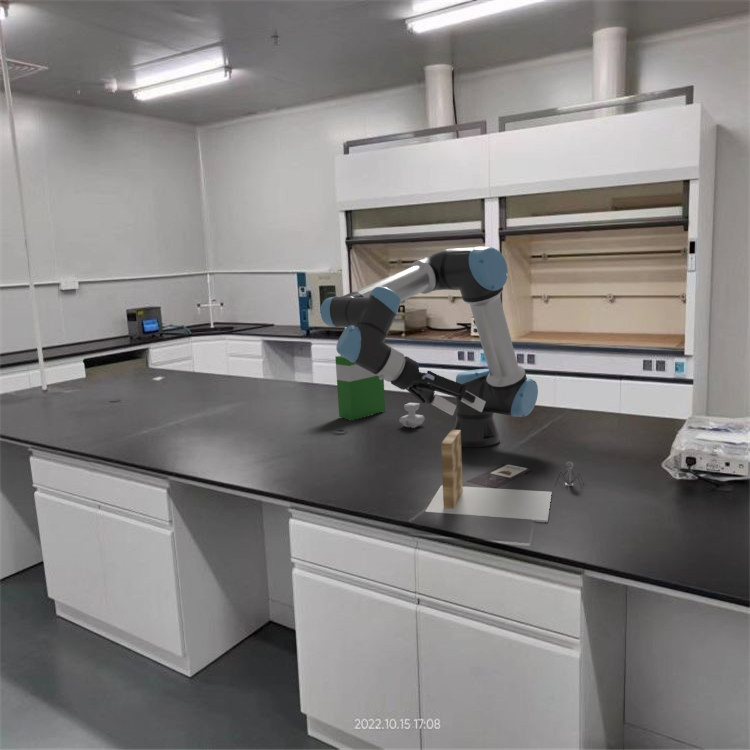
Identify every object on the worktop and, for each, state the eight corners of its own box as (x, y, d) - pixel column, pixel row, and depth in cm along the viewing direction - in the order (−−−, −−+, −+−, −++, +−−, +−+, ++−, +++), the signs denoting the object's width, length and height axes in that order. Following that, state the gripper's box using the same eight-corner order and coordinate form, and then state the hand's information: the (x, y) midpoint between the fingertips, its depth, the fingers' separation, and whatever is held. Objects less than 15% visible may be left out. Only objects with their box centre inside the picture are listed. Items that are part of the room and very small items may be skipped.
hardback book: (372, 408, 261) (369, 350, 257) (385, 411, 256) (382, 351, 251) (339, 417, 249) (335, 356, 245) (352, 420, 244) (348, 357, 239)
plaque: (453, 490, 166) (451, 429, 163) (462, 490, 165) (460, 430, 162) (443, 507, 154) (441, 443, 151) (453, 508, 154) (451, 443, 151)
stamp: (411, 422, 236) (410, 400, 235) (427, 424, 232) (426, 401, 231) (397, 428, 229) (396, 405, 228) (412, 430, 225) (411, 407, 224)
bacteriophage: (553, 490, 164) (553, 464, 163) (557, 479, 171) (557, 455, 170) (581, 492, 161) (582, 467, 160) (584, 482, 168) (585, 457, 167)
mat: (441, 487, 170) (441, 485, 170) (551, 493, 161) (551, 491, 161) (425, 513, 153) (425, 511, 153) (547, 522, 144) (547, 520, 144)
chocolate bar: (466, 481, 171) (503, 463, 184) (466, 484, 171) (504, 466, 184) (495, 488, 165) (532, 469, 178) (495, 491, 165) (532, 472, 178)
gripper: (370, 388, 164) (438, 424, 170) (415, 377, 141) (491, 419, 148) (382, 362, 166) (448, 399, 172) (427, 347, 143) (501, 390, 150)
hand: (468, 408), depth 160 cm, fingers open, 13 cm apart
